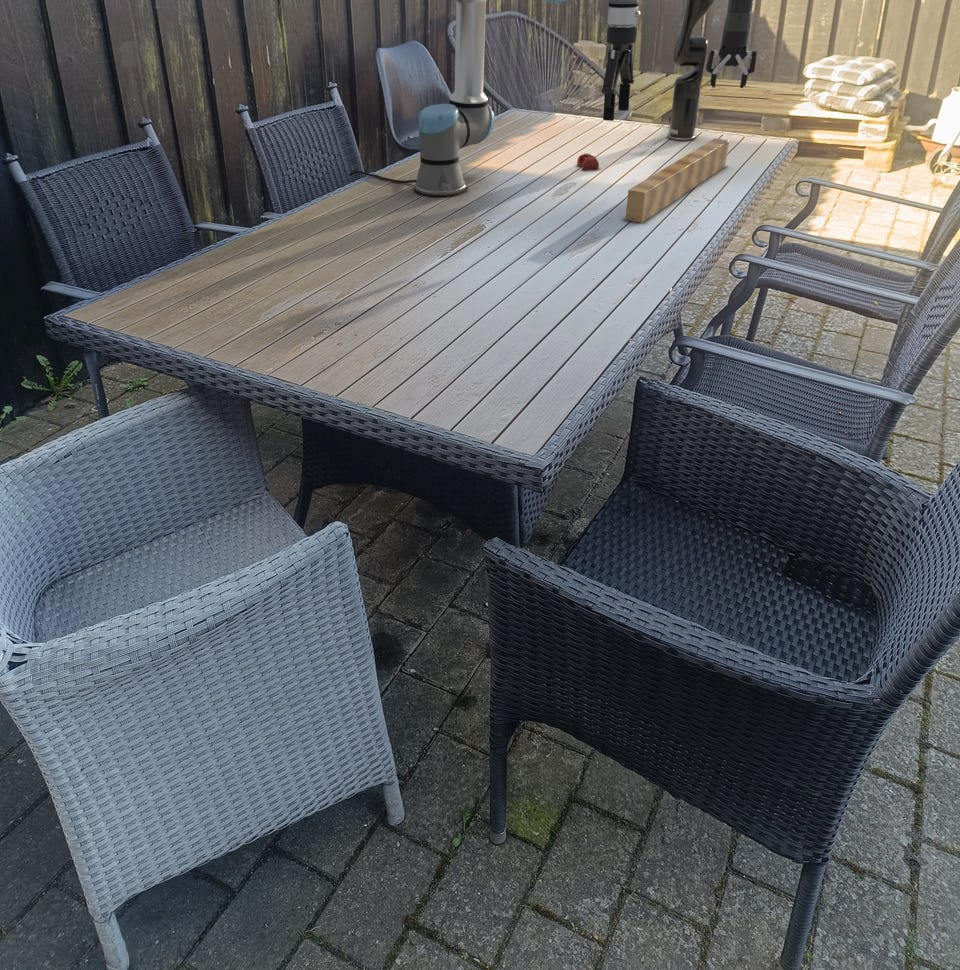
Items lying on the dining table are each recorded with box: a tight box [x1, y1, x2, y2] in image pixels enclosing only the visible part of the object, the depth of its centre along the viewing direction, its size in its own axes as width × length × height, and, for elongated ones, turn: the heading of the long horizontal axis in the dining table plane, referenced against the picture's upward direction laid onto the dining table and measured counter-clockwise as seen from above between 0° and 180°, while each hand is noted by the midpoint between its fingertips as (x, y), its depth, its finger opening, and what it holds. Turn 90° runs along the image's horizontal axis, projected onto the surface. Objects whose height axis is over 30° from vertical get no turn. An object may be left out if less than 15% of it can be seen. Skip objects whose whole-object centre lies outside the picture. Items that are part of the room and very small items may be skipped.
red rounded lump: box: [576, 152, 600, 171], centre depth 277 cm, size 6×4×8 cm
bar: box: [625, 138, 730, 224], centre depth 255 cm, size 68×5×8 cm, turn 147°
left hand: (616, 115), depth 226 cm, fingers open, 13 cm apart
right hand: (727, 87), depth 260 cm, fingers open, 8 cm apart
